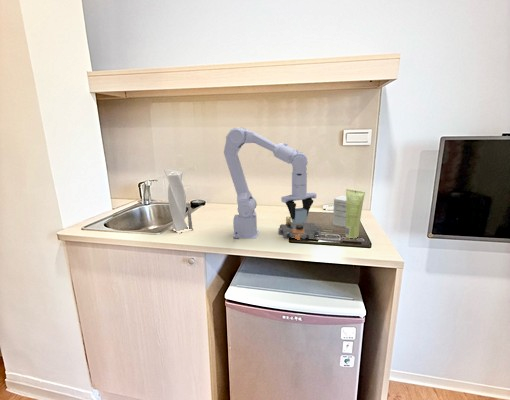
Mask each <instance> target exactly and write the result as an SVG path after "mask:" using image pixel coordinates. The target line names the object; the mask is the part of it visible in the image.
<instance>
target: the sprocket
mask: <svg viewBox="0 0 510 400" xmlns="http://www.w3.org/2000/svg"><path fill="white" fill-rule="evenodd" d="M277 230H278V234H279V235H282V237H283V238H284V239H285V240H287V239H290V238H289V237H295V239H297V240H300V241H301V239H300V238H308V239H312V238H313V239H314V237H313V236H315V235H320V234H321V233H322V231H321V230H322V228H321V226H319V225H317V226H316V224H315V223H313V222H303V223H296V224H295V223H294V222H292V221H291V216H286V217H285V224H284V223H281V224H280V225H279V228H278V229H277ZM320 236H321V235H320ZM315 237H316V236H315ZM295 239H294V240H295ZM308 239H307V240H308Z"/></svg>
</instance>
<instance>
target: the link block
mask: <svg viewBox="0 0 510 400" xmlns="http://www.w3.org/2000/svg"><path fill="white" fill-rule="evenodd" d="M307 219H308V216H307V210H306V209H304V208H303V207H298V208H297V207H295V219H292V218H291V222H294V223H295V224H296V223H303V222H304V223H308V220H307Z"/></svg>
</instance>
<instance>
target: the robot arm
mask: <svg viewBox="0 0 510 400" xmlns="http://www.w3.org/2000/svg"><path fill="white" fill-rule="evenodd" d="M245 144H255V145H258V146H259V147H262V148H264V149H266V150H268V151H270V152H272V154H273V157H274V158H276V159H279V160H280V161H282V162H285V163H286V164H289V165H290V164H291V166H292V172H291V194H288V195H285V196H281V198H280V199H281V202H282V203H285V204H286V207H287V209H288V212H289V215H290V216H289V217H291V218H292V219H295V209H296V208H297V203H296V202H295V201H301V203H302V208H304V209H306V210H307V217H308V216H309V211H310V209H311V206H312V205H313V203H314V199H317V193H315V192H307V189H308V188H307V187H308V184H307V183H308V179H307V178H308V176H307V175H308V172H307V170H308V169H307V168H308V167H307V166H308V157H307V156H306V154H305V153H304V152H302V151H299V149H297V148H296V149H294V148H293V147H291V146H288V143H286V142H284V143H282V142H280V143H275V142H273V141H272V140H269V138H266V137H265V136H263V135H260V134H259V133H257V132H255V131H253V130H250V129H247V128H245V127H233V128H231V129H230V130H229V132H228V133H227V134H226V137H225V144H224V149H223V155H224V158H225V162H226V164H227V168H228V171H229V174H230V177H231V180H232V183H233V186H234V189H235V193H236V194H237V195H236V203H237V213H238V214H235V215H234V216H233V219H232V220H233V221H232V222H233V223H232V225H233V227H232V228H233V238H234V239H257V237H258V235H259V234H260V230H258V226H257V225H258V224H257V220H258V219H257V212H256V208H257V206H258V202H257V201H256V199H255V198H254V197H253V194H252V193H251V191H250V190H249V187H248V183H247V180H246V176H245V173H244V171H243V167H242V164H241V161H240V158H239V154H238V153H239V152H240V150H241V148H242V147H243V145H245Z"/></svg>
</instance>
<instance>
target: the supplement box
mask: <svg viewBox="0 0 510 400" xmlns="http://www.w3.org/2000/svg"><path fill="white" fill-rule="evenodd" d="M332 215H333V218H332V221H333V222H332V225H333V226H337V227H341V228H346V195H338V196H337V197H335V198H334V199H333V214H332Z"/></svg>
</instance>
